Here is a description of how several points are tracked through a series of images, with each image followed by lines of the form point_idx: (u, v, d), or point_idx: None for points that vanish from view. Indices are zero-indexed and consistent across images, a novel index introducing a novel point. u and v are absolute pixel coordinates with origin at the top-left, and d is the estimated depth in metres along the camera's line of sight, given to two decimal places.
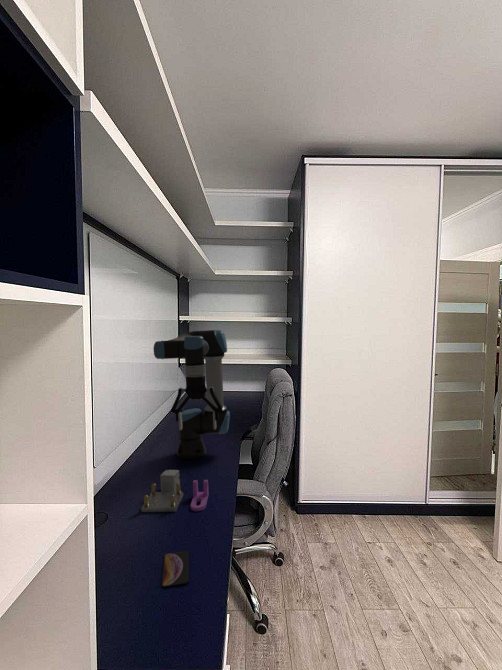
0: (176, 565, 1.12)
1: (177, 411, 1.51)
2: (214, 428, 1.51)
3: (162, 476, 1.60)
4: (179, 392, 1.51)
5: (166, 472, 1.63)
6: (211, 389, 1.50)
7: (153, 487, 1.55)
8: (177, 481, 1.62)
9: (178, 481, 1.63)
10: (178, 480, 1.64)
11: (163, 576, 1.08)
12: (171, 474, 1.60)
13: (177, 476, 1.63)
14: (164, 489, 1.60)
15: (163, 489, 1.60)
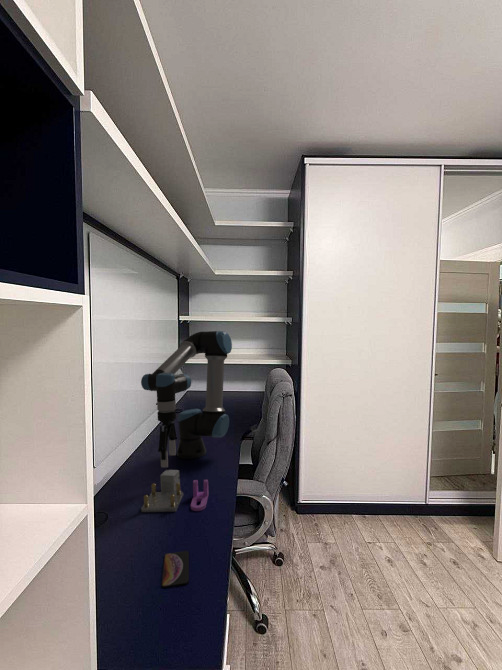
0: (176, 565, 1.12)
1: None
2: (161, 466, 1.55)
3: (162, 476, 1.60)
4: None
5: (166, 472, 1.63)
6: None
7: (153, 487, 1.55)
8: (177, 481, 1.62)
9: (178, 481, 1.63)
10: (178, 480, 1.64)
11: (163, 576, 1.08)
12: (171, 474, 1.60)
13: (178, 476, 1.63)
14: (164, 489, 1.60)
15: (163, 489, 1.60)
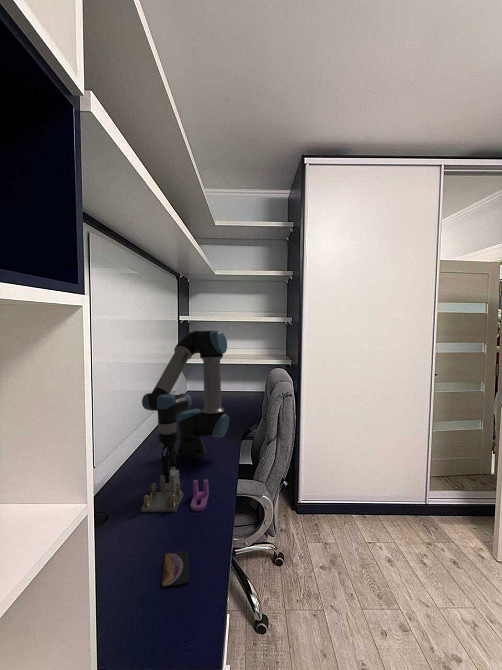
0: (176, 565, 1.12)
1: None
2: None
3: (162, 476, 1.60)
4: None
5: None
6: None
7: (153, 487, 1.55)
8: (177, 481, 1.62)
9: (178, 481, 1.63)
10: (178, 480, 1.64)
11: (163, 576, 1.08)
12: (171, 474, 1.60)
13: (177, 476, 1.63)
14: (164, 489, 1.60)
15: (163, 489, 1.60)
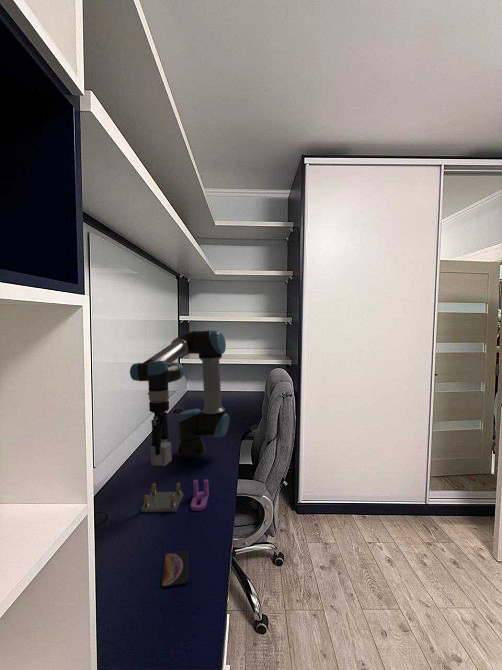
0: (176, 565, 1.12)
1: None
2: (155, 461, 1.48)
3: (152, 448, 1.49)
4: None
5: None
6: None
7: (153, 487, 1.55)
8: (168, 454, 1.51)
9: (170, 454, 1.52)
10: (170, 453, 1.52)
11: (163, 576, 1.08)
12: (162, 446, 1.49)
13: (169, 448, 1.52)
14: None
15: (153, 462, 1.49)
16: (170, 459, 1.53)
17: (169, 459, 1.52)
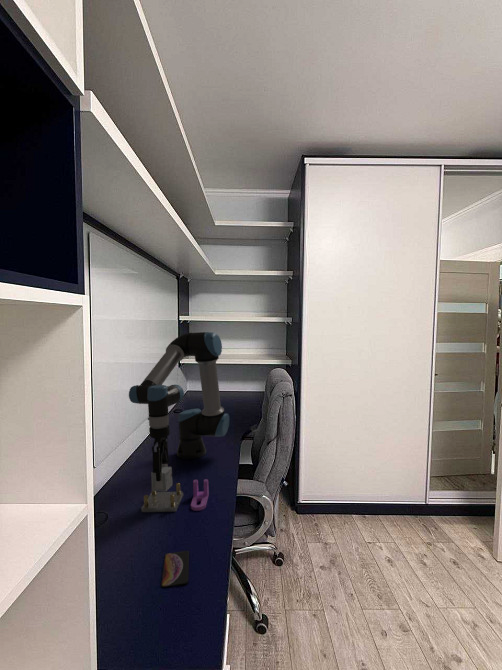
0: (176, 565, 1.12)
1: None
2: (156, 487, 1.47)
3: (153, 473, 1.48)
4: None
5: None
6: None
7: None
8: (169, 479, 1.50)
9: (170, 479, 1.51)
10: (170, 478, 1.51)
11: (163, 576, 1.08)
12: (163, 471, 1.48)
13: (170, 473, 1.51)
14: None
15: (154, 488, 1.48)
16: (171, 484, 1.51)
17: (170, 484, 1.51)
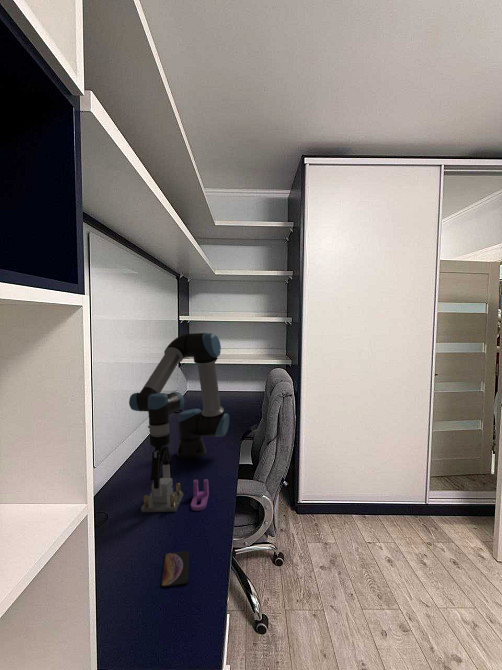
0: (176, 565, 1.12)
1: (163, 462, 1.57)
2: None
3: None
4: None
5: None
6: None
7: None
8: (170, 490, 1.50)
9: (171, 490, 1.52)
10: (171, 489, 1.52)
11: (163, 576, 1.08)
12: (164, 483, 1.49)
13: (171, 484, 1.51)
14: (157, 499, 1.48)
15: (155, 499, 1.48)
16: None
17: None
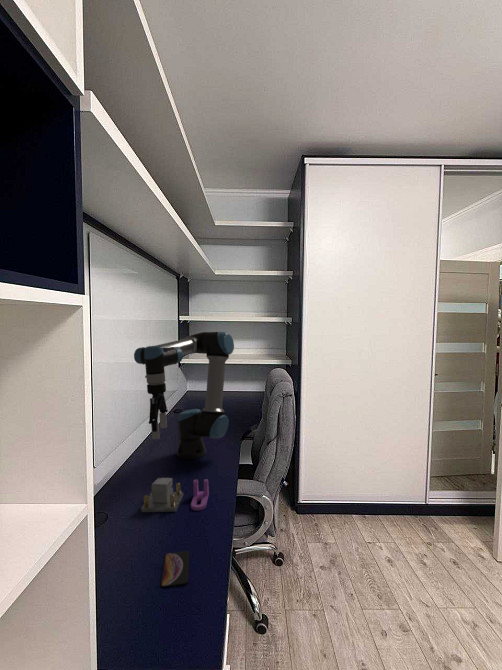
0: (176, 565, 1.12)
1: (159, 410, 1.69)
2: (152, 437, 1.55)
3: (154, 485, 1.48)
4: None
5: (158, 480, 1.51)
6: None
7: None
8: (170, 490, 1.50)
9: (171, 490, 1.52)
10: (171, 489, 1.52)
11: (163, 576, 1.08)
12: (164, 483, 1.49)
13: (171, 484, 1.51)
14: (157, 499, 1.48)
15: (155, 499, 1.48)
16: None
17: None
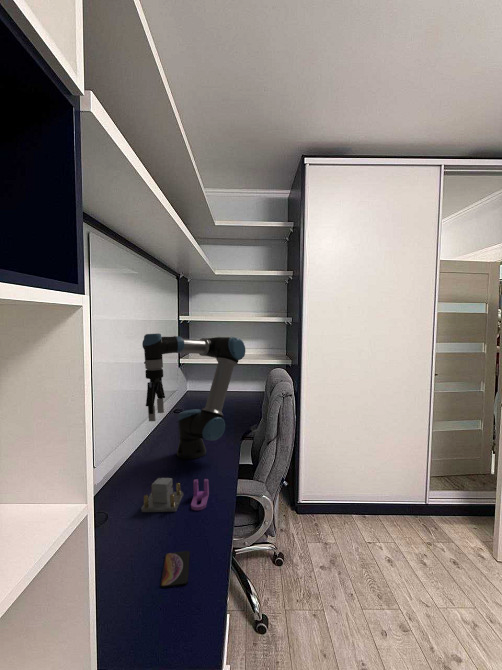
0: (176, 565, 1.12)
1: (157, 396, 1.78)
2: None
3: (154, 485, 1.48)
4: None
5: (158, 480, 1.51)
6: None
7: None
8: (170, 490, 1.50)
9: (171, 490, 1.52)
10: (171, 489, 1.52)
11: (163, 576, 1.08)
12: (164, 483, 1.49)
13: (171, 484, 1.51)
14: (157, 499, 1.48)
15: (155, 499, 1.48)
16: None
17: None
